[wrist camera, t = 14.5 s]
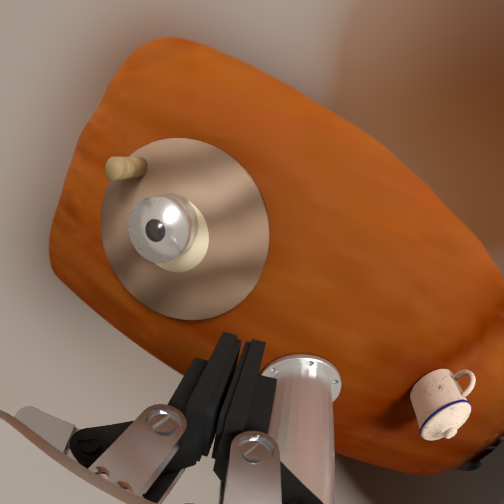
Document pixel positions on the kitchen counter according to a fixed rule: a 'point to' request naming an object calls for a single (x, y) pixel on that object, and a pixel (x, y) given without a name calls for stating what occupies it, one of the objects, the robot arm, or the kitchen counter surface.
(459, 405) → the teacup with lid
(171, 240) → the cover
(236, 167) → the disc
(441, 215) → the kitchen counter surface
